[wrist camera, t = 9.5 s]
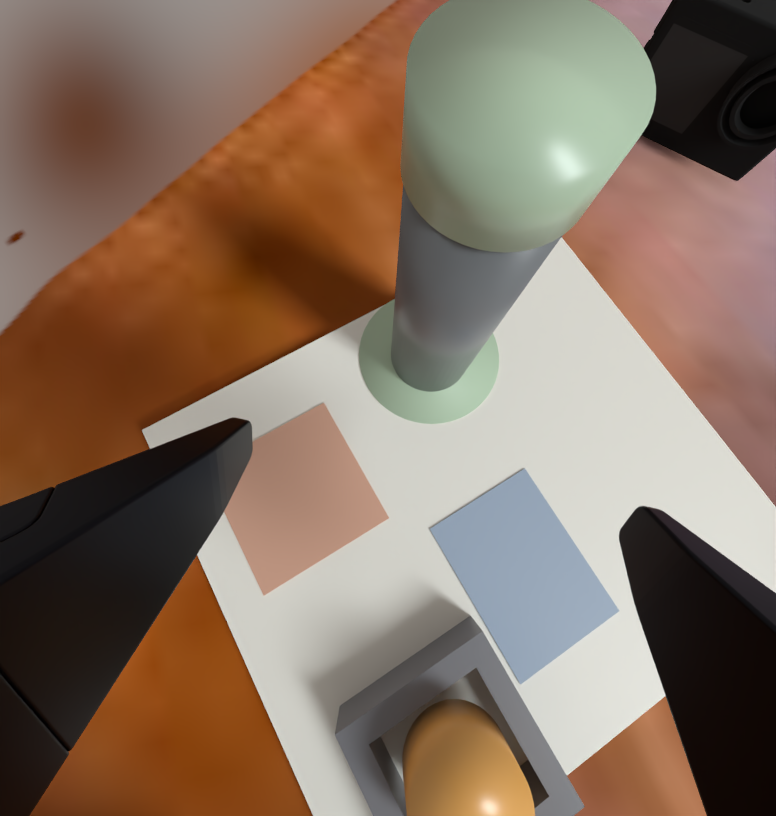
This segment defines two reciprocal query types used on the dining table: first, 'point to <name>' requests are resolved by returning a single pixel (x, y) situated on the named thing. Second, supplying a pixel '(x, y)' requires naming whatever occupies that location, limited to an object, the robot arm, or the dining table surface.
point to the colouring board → (463, 521)
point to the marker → (502, 161)
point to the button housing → (416, 687)
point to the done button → (461, 765)
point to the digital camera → (715, 82)
